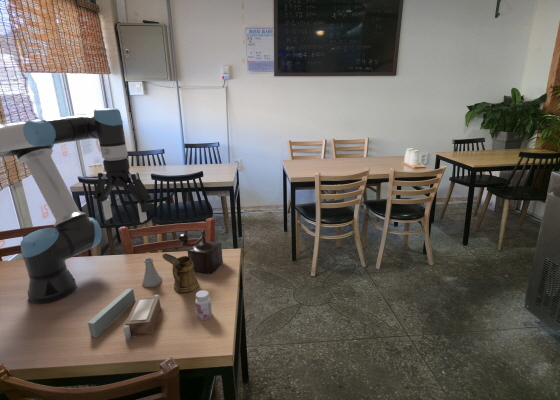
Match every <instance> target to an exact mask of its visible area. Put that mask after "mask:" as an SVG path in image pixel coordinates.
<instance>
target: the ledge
mask: <svg viewBox="0 0 560 400" xmlns="http://www.w3.org/2000/svg"><path fill="white" fill-rule="evenodd" d="M153 297H159V300H160V294H154V296H153ZM160 301H161V300H160ZM135 303H136V298H135V292H134V288H131V287H128V288H126V289H125V290H124V291H123V292H122V293H121V294H120V295H118V296H117V297H116V298H115V299H113V300H112V301H111V302H110V303H109V304H108V305H107V306H106V307H104V308H103V309H101V311H99V312H98V313H97V314H96V315H95V316H94V317H92V318H91V319H90V320H89V321H88V322H87V325H88V329H89V333H90V337H93V338H98V337H99V336H100V335H101V334H102V333H103V332H104V331H105V330H106V329H107V328H108V327H109V326H110V325H111V324H113V323H114V322H115V321H116V320H117V319H118V318H119V317H120V316H121V315H122V314H123V313H124V312H125V311H127V309H129V308H130V307H131V306H132V305H133V304H135ZM160 307H161V304H160ZM123 332H124V338H125V341H130V340H132V337H131V333H130V327H129V325H125V324H124V325H123Z"/></svg>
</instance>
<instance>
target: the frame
mask: <svg viewBox="0 0 560 400" xmlns="http://www.w3.org/2000/svg"><path fill="white" fill-rule="evenodd" d="M159 299H160V296H159V297H154V296H152V297H144V298H142V297H140V298H136V300H135V302H134V305H133V307H132V309H131V310H130V313H129V315H128V317H127V319H126V322H125V323H124V326H125V325H129V327H130V333H131V338H132V337H144V336H152V335H153V333H154V329H155V327H156V323H157V321H158V319H159V315H160V312H161V309H162V308H161V307H160V305H161V300H159Z"/></svg>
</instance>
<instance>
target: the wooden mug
mask: <svg viewBox="0 0 560 400" xmlns="http://www.w3.org/2000/svg"><path fill="white" fill-rule="evenodd" d="M161 256H162V258H163V259H164V260H165V261H166V262H168V263H169V264H171V265H172V277H173V279H174V282H173V290H174V291H175V292H178V293H181V294H186V293H187V294H188V293H191V292H192V291H195V290H197V288H198V286H199V281H198V278H197V275H196V272H195V271H194V264H193V261H192V259H191V257H188V255H182V256H180V257H176V256H174V255H171V254H168V253H163V254H162V255H161Z"/></svg>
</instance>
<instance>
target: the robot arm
mask: <svg viewBox="0 0 560 400" xmlns="http://www.w3.org/2000/svg"><path fill="white" fill-rule="evenodd" d="M123 122H124V121H123V119H122V115H121V111H120V109H118V108H112V107H111V108H108V107H107V108H96V109H94V110H93V114H86V113H83V114H82V113H81V114H75V115H72V116H62V117H49V118H36V119H31V120H24V121H17V122H8V123H0V158H5V157H12V156H13V157H14V156H15V157H17V160H18V162H20V163H23V164H25V165H26V167H27V169H28V170H29V172H30V174H31V176H32V178H33V180H34V182H35V184H36V185H37V187H38V189H39V191H40V193H41V195H42V197H43V199H44V201H45V203H46V204H47V206H48V208H49V210H50V212H51V214H52V216H53V218H54V219H55V222H54V225H53V227H44V228H40V229H37V230H35V231H33V232H30V233H29V234H27V235H26V236H24V237H23V238H22V240H21V241H20V250H21V255H22V257H23V261H24V264H25V268H26V271H27V274H28V275H27V276H28V279H29V280H28V281H29V282H28V290H27V296H28V300H29V301H30V302H31V303H33V304H48V303H53V302H56V301H58V300H61V299H63V298H66V297H67V296H69V295H71V294H72V293H73V292H74V291H75V290H76V288H77V281H76V278H74V276H73V274H72V273H71V272H70V270H69V269H68V268H67V264H66V260H68V259H70V258H73V257H75V256H78V255H79V254H82V253H84V252H86V251H89V250H91V249H92V248H95V247H96V246H97V245H99V244H100V242H101V240H102V228H101V225H100V223H99V222H98V221H97V220H96V219H95V218H94V217H88V216H87V213H86V212H83V211H80V209H79V207H78V206H77V203H76V202H75V200H74V198H73V196H72V194H71V192H70V190H69V189H68V186H67V184H66V183H65V181H64V179H63V177H62V175H61V173H60V171H59V169H58V167H57V165H56V163H55V162H54V159H53V158H52V154H53V152H54V149H53V148H54V146H55V145H57V144H58V145H59V144H63V143H69V142H76V141H82V140H90V139H94V140H95V139H98V143H99V147H100V153H101V158H102V159H103V160H102V164H103V171H100V172H98V173H97V182H96V187H95V190H94V196H93V198H94V200H99V202H100V207H101V210H103V214H104V220H105V221H107V220H110V219H111V218H113V212H112V208H111V201H110V199H109V196H110V194H111V192H112V190H113V188H116V187H119V188H124V189H125V190H126V189H127V191H128V192H129V193H130V194H131V196H133V197H134V198H135V199H136V201H137V202H138V203H137V210H138V216H139V217H138V218H139V223H145V221H147V220H148V217H147V211H148V205H147V202H149V201H151V200H152V196H151V195H150V193H149V191H148V190H147V189H146V186H145V185H144V183H143V181H142V180H141V177H140V174H139V173H138V172H134V173H131V172H130V169H131V167H130V162H129V158H128V156H129V153H128V147H127V143H126V137H125V130H124V125H123ZM107 180H108V181H107ZM106 182H107V183H106Z"/></svg>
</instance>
